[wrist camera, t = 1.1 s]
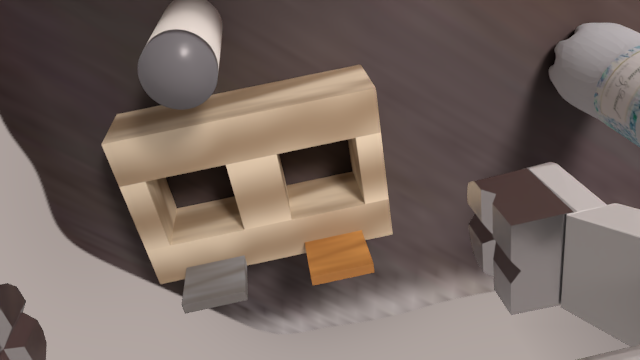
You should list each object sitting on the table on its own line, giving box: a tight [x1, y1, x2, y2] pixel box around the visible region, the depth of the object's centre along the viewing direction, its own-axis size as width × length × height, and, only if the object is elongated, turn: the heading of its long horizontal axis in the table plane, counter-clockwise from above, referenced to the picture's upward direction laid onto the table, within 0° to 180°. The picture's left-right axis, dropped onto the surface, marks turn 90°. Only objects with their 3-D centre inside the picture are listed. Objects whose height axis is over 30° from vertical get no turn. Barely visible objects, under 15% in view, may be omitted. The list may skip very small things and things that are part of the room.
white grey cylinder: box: [138, 0, 223, 110], centre depth 32 cm, size 4×4×10 cm
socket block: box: [101, 65, 392, 313], centre depth 38 cm, size 12×18×9 cm, turn 99°
